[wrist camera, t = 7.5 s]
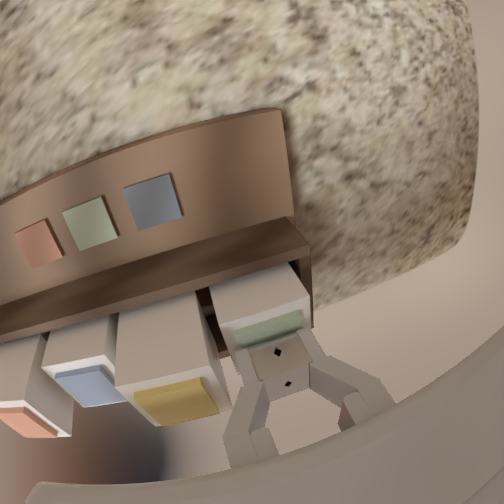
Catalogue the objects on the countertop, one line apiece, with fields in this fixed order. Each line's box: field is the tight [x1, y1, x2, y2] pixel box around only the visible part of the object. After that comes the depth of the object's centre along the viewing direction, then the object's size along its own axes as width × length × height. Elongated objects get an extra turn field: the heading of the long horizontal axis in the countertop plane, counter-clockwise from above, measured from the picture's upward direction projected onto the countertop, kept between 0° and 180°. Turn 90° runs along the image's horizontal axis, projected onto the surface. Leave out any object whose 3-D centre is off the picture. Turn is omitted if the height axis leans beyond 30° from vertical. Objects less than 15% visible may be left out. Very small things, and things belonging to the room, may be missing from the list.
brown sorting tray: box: [0, 107, 314, 359], centre depth 12 cm, size 18×11×4 cm, turn 100°
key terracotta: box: [0, 334, 74, 438], centre depth 10 cm, size 3×3×4 cm
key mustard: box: [114, 290, 233, 426], centre depth 11 cm, size 3×3×4 cm
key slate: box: [41, 312, 128, 408], centre depth 12 cm, size 3×3×4 cm
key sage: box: [209, 262, 311, 375], centre depth 13 cm, size 3×3×4 cm
